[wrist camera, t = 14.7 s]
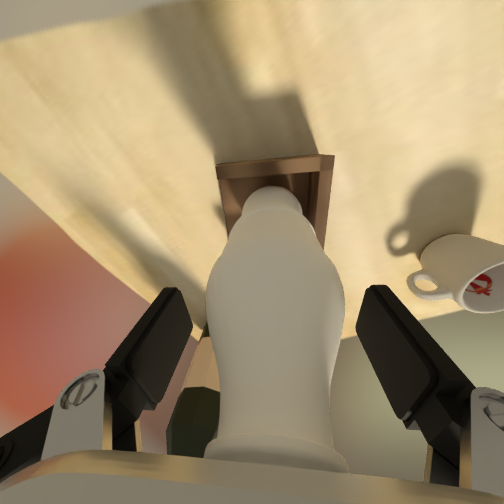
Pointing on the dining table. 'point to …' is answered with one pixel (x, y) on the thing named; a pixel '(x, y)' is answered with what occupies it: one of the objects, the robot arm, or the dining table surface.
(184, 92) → the dining table surface
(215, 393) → the wine bottle
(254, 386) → the water bottle
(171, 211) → the dining table surface
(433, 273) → the cup
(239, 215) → the open wooden box
